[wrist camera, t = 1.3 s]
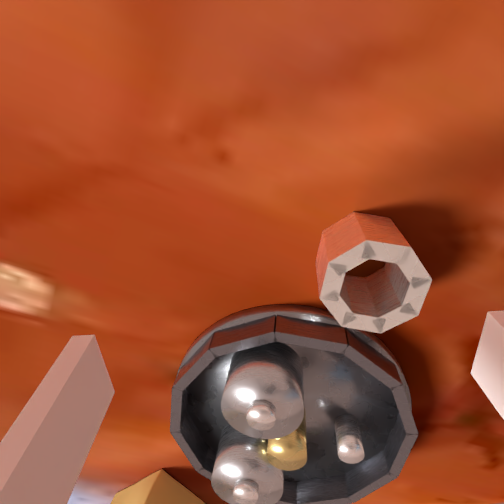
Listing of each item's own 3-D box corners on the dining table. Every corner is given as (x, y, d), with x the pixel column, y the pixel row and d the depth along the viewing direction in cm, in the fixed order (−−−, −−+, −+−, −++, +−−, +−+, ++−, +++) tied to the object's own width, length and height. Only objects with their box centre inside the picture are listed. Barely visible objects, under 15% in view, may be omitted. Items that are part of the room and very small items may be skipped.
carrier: (442, 329, 32) (481, 393, 25) (370, 492, 42) (384, 568, 36) (183, 284, 33) (154, 333, 27) (174, 452, 44) (151, 519, 37)
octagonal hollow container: (415, 221, 28) (443, 252, 23) (389, 295, 31) (408, 338, 26) (328, 207, 29) (335, 234, 23) (310, 282, 32) (313, 321, 26)
